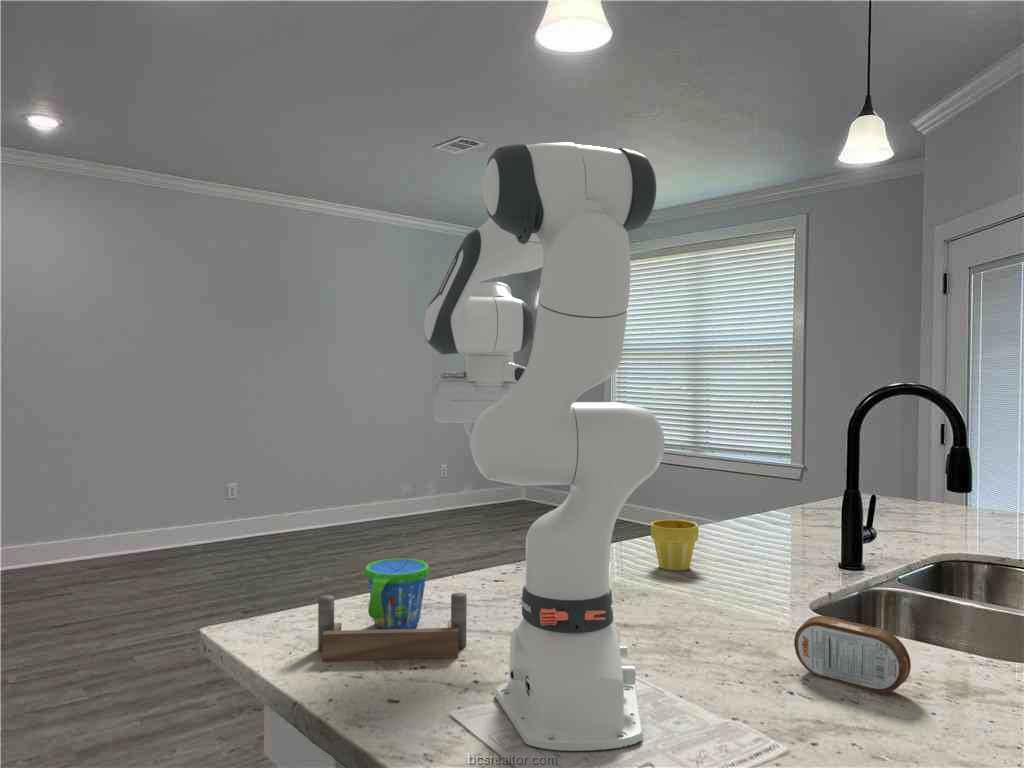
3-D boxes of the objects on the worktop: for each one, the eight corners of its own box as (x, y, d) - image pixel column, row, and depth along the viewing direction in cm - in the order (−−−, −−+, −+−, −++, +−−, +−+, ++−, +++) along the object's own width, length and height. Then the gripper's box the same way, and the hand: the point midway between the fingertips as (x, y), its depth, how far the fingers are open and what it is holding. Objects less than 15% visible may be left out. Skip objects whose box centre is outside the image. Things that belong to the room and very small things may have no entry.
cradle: (467, 657, 115) (467, 604, 115) (312, 661, 113) (313, 607, 113) (465, 635, 125) (465, 586, 125) (322, 638, 123) (323, 588, 122)
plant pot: (646, 571, 166) (647, 526, 166) (653, 560, 176) (654, 517, 176) (695, 575, 163) (696, 529, 163) (699, 564, 173) (700, 520, 173)
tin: (911, 695, 103) (912, 633, 102) (904, 703, 100) (905, 639, 100) (799, 666, 113) (800, 609, 112) (791, 672, 110) (791, 614, 110)
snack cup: (397, 645, 120) (398, 580, 120) (342, 635, 124) (343, 572, 124) (446, 616, 134) (447, 558, 134) (395, 608, 139) (396, 552, 138)
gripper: (432, 371, 136) (431, 449, 136) (546, 372, 138) (545, 448, 138) (432, 371, 142) (432, 445, 142) (541, 372, 144) (540, 445, 144)
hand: (488, 447), depth 140 cm, fingers open, 4 cm apart
